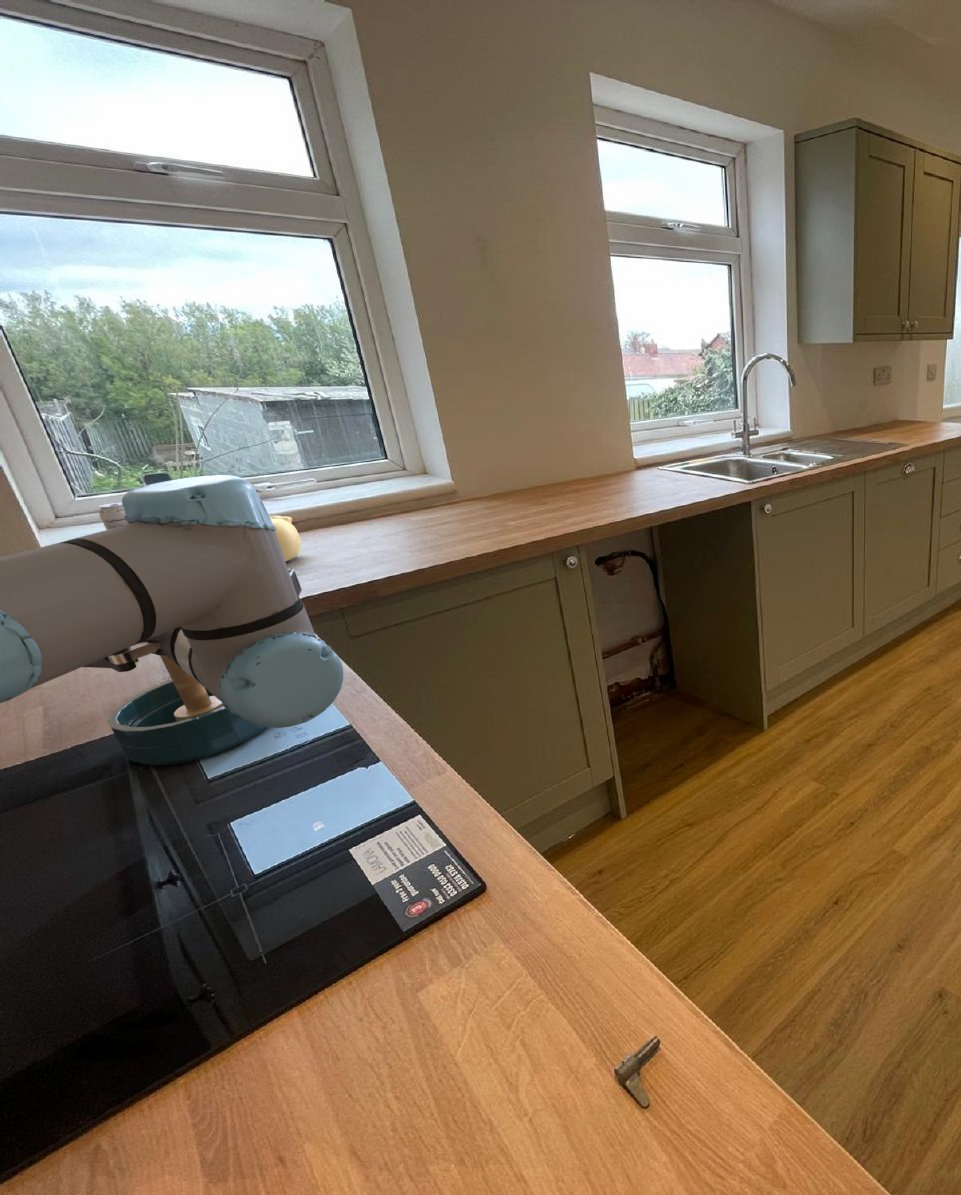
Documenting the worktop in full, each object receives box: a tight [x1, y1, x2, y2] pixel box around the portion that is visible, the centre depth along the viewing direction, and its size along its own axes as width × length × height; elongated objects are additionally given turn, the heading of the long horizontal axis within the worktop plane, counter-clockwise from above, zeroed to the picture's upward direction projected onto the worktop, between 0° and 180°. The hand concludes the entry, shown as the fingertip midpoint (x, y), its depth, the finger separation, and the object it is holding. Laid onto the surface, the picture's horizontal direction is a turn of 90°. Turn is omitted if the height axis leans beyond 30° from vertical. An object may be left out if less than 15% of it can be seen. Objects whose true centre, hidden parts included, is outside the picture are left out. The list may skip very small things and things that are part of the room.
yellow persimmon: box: [269, 515, 302, 563], centre depth 145 cm, size 11×12×11 cm
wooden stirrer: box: [159, 655, 223, 722], centre depth 80 cm, size 5×5×18 cm
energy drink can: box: [98, 501, 129, 530], centre depth 144 cm, size 6×6×15 cm
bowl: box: [107, 679, 267, 766], centre depth 82 cm, size 16×16×6 cm
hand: (162, 597), depth 70 cm, fingers open, 13 cm apart
